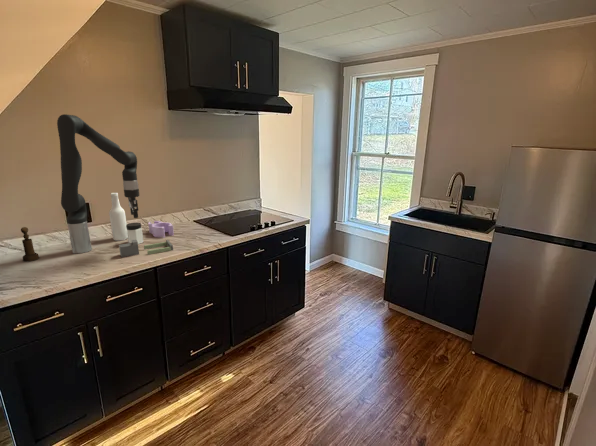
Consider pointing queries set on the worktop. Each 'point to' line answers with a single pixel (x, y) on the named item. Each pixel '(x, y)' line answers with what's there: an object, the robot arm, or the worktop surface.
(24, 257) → the brown chess pawn
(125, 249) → the upright grey block
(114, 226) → the alcohol
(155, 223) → the clip
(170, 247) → the deck socket
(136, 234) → the jar
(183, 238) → the worktop surface
